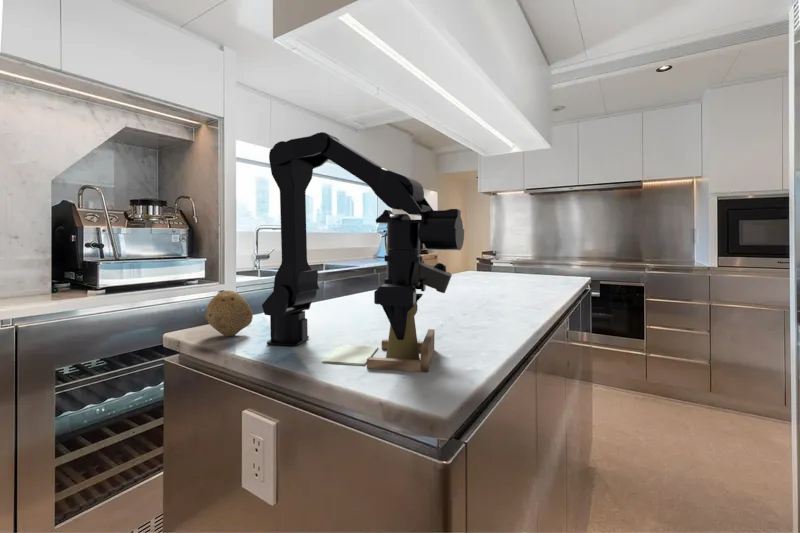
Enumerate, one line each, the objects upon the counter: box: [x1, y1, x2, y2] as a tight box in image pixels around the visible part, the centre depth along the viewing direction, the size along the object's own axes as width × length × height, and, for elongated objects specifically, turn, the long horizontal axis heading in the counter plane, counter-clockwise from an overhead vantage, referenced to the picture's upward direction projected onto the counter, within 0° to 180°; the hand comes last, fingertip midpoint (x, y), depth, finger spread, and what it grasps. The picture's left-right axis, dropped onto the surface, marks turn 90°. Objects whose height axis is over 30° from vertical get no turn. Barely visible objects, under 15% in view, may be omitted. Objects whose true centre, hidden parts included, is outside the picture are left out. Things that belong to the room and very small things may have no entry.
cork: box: [385, 302, 420, 360], centre depth 68 cm, size 6×6×11 cm
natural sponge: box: [205, 290, 254, 337], centre depth 83 cm, size 9×9×10 cm
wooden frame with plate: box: [321, 328, 436, 373], centre depth 69 cm, size 18×12×4 cm
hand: (402, 336), depth 68 cm, fingers closed on cork, 4 cm apart
